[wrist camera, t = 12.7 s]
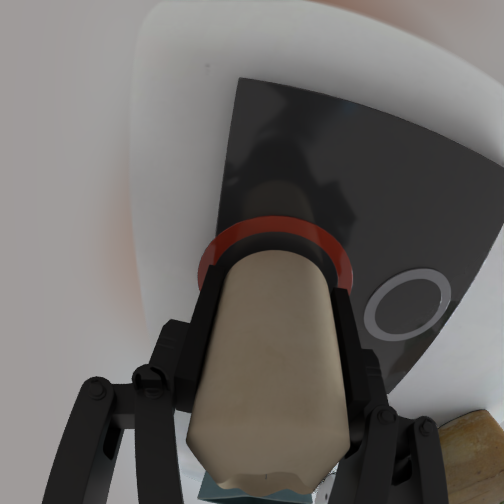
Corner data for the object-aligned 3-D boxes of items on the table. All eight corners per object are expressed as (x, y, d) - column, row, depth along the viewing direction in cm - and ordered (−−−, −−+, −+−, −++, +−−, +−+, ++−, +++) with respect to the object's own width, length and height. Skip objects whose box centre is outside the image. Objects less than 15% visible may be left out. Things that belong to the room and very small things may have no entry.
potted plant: (451, 447, 36) (466, 555, 15) (376, 456, 34) (382, 592, 13) (524, 391, 26) (557, 519, 5) (460, 397, 24) (491, 579, 4)
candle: (342, 259, 14) (386, 470, 6) (310, 335, 17) (316, 503, 9) (229, 238, 14) (172, 458, 5) (217, 319, 17) (180, 490, 8)
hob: (225, 75, 11) (221, 75, 10) (512, 172, 12) (522, 179, 11) (195, 363, 22) (192, 374, 21) (386, 385, 23) (388, 395, 22)
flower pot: (314, 434, 29) (315, 504, 21) (262, 451, 33) (257, 511, 25) (256, 412, 26) (249, 496, 19) (206, 431, 30) (195, 498, 22)
